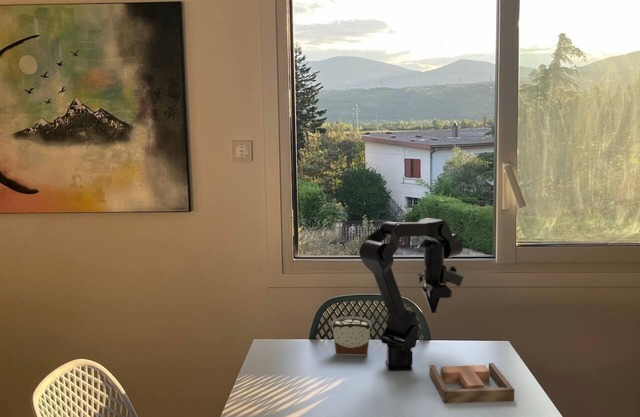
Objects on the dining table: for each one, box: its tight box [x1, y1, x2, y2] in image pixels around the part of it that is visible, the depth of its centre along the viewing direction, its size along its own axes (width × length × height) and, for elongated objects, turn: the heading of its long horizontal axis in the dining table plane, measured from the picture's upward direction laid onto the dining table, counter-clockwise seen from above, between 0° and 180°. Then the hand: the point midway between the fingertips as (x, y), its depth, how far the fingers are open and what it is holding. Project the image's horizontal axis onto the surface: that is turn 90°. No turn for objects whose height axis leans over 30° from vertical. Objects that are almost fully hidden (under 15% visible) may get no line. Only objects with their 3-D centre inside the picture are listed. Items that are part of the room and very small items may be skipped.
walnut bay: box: [429, 362, 515, 404], centre depth 158 cm, size 17×16×3 cm
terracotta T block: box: [440, 364, 491, 389], centre depth 160 cm, size 12×12×3 cm
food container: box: [330, 316, 373, 356], centre depth 184 cm, size 12×6×10 cm, turn 84°
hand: (433, 312), depth 181 cm, fingers closed
